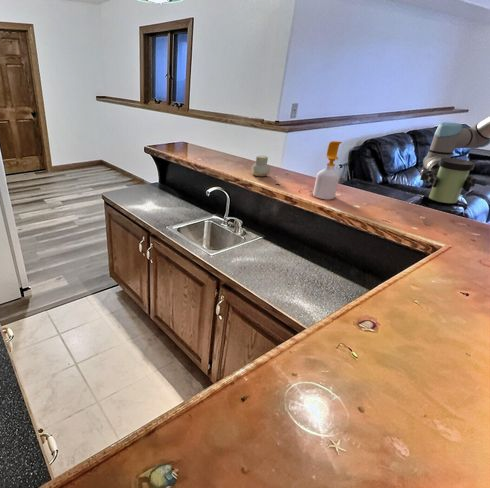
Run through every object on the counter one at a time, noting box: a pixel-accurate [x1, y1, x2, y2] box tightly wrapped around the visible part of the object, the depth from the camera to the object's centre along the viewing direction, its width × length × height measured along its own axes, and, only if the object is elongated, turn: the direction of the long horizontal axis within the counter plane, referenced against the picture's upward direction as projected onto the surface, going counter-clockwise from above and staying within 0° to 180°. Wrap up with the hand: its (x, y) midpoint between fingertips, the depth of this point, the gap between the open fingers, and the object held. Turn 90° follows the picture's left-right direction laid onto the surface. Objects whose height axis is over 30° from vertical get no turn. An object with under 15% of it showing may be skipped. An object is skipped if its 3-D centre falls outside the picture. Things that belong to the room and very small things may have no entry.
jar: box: [428, 166, 471, 204], centre depth 117 cm, size 8×8×13 cm
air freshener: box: [250, 154, 271, 177], centre depth 186 cm, size 11×8×10 cm
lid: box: [438, 157, 476, 171], centre depth 115 cm, size 9×9×2 cm
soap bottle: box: [312, 140, 343, 201], centre depth 152 cm, size 9×9×25 cm
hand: (452, 185), depth 113 cm, fingers closed on jar, 8 cm apart
